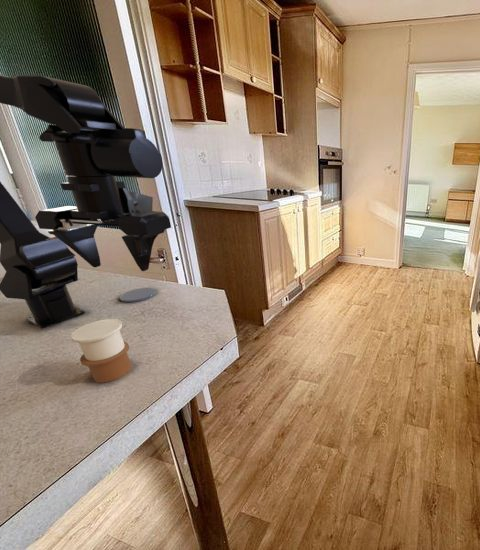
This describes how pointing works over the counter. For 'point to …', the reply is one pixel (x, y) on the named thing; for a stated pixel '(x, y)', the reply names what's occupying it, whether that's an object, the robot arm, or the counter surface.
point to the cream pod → (99, 339)
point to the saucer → (137, 295)
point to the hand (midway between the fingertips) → (121, 268)
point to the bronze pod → (109, 366)
